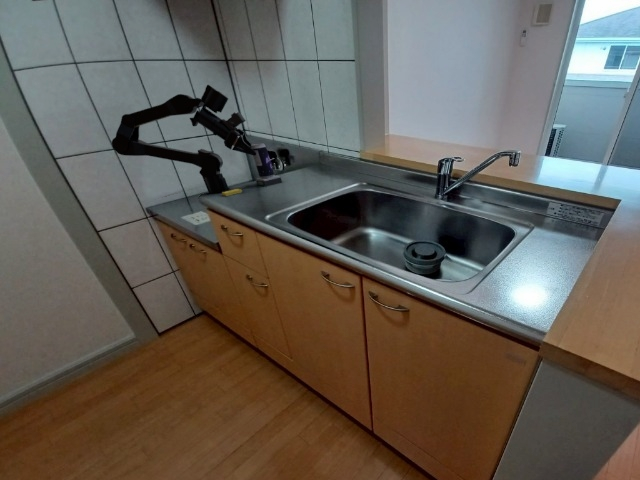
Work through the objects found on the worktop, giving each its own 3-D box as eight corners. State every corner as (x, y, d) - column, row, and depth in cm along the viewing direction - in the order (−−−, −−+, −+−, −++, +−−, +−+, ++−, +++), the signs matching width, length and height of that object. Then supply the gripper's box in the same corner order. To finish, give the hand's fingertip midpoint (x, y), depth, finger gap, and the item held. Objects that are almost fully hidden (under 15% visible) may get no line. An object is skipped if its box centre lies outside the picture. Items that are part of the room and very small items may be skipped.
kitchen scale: (265, 186, 125) (263, 180, 124) (257, 185, 129) (255, 178, 128) (282, 182, 129) (280, 175, 128) (273, 180, 134) (271, 174, 132)
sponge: (226, 196, 116) (225, 193, 116) (222, 195, 118) (221, 192, 118) (242, 192, 120) (241, 189, 119) (238, 191, 122) (237, 188, 121)
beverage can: (272, 177, 126) (262, 144, 119) (258, 179, 126) (247, 145, 119) (276, 175, 131) (267, 142, 124) (262, 176, 130) (252, 144, 124)
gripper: (221, 103, 106) (266, 136, 114) (229, 104, 121) (268, 133, 129) (205, 133, 108) (250, 163, 116) (215, 130, 124) (255, 157, 132)
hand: (257, 153), depth 123 cm, fingers open, 9 cm apart
